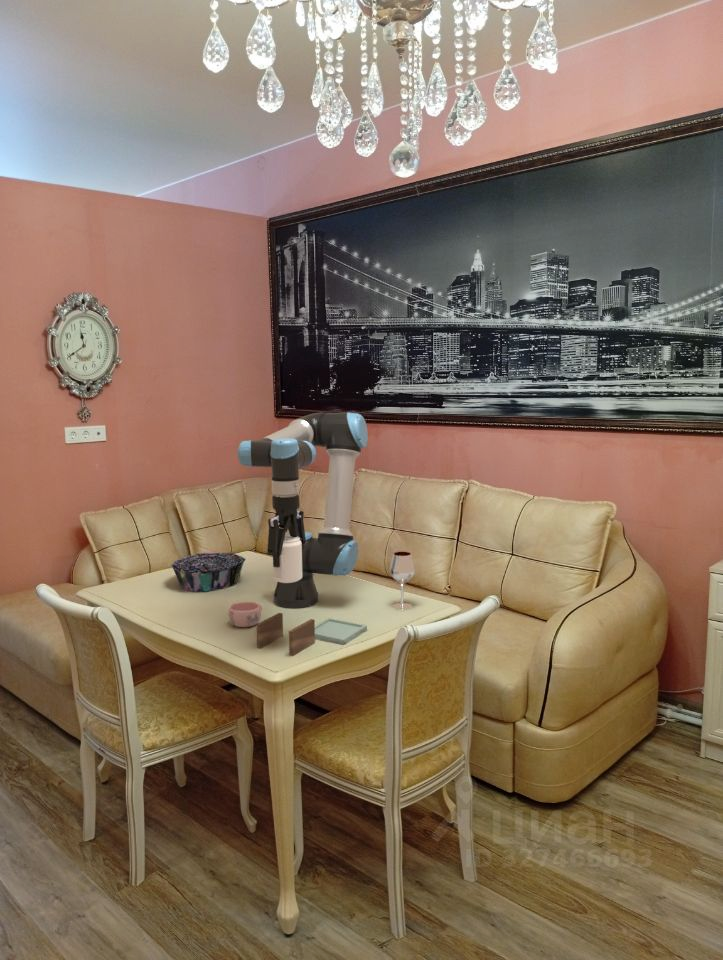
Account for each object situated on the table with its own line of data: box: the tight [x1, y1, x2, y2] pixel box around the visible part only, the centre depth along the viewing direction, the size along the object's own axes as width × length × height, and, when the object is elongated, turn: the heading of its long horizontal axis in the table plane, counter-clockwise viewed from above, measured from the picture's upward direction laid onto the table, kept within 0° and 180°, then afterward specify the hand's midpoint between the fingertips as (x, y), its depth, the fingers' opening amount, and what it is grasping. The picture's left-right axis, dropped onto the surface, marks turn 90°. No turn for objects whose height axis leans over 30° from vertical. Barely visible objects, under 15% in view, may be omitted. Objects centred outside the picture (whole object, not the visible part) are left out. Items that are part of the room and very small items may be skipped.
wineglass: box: [389, 551, 416, 611], centre depth 247 cm, size 8×8×18 cm
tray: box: [315, 617, 368, 646], centre depth 225 cm, size 14×14×2 cm
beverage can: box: [272, 536, 302, 583], centre depth 212 cm, size 8×8×12 cm
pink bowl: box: [227, 601, 263, 628], centre depth 233 cm, size 12×10×6 cm
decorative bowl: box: [170, 552, 246, 593], centre depth 275 cm, size 26×28×10 cm
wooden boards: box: [255, 612, 316, 657], centre depth 215 cm, size 12×11×7 cm
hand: (287, 573), depth 213 cm, fingers closed on beverage can, 8 cm apart
